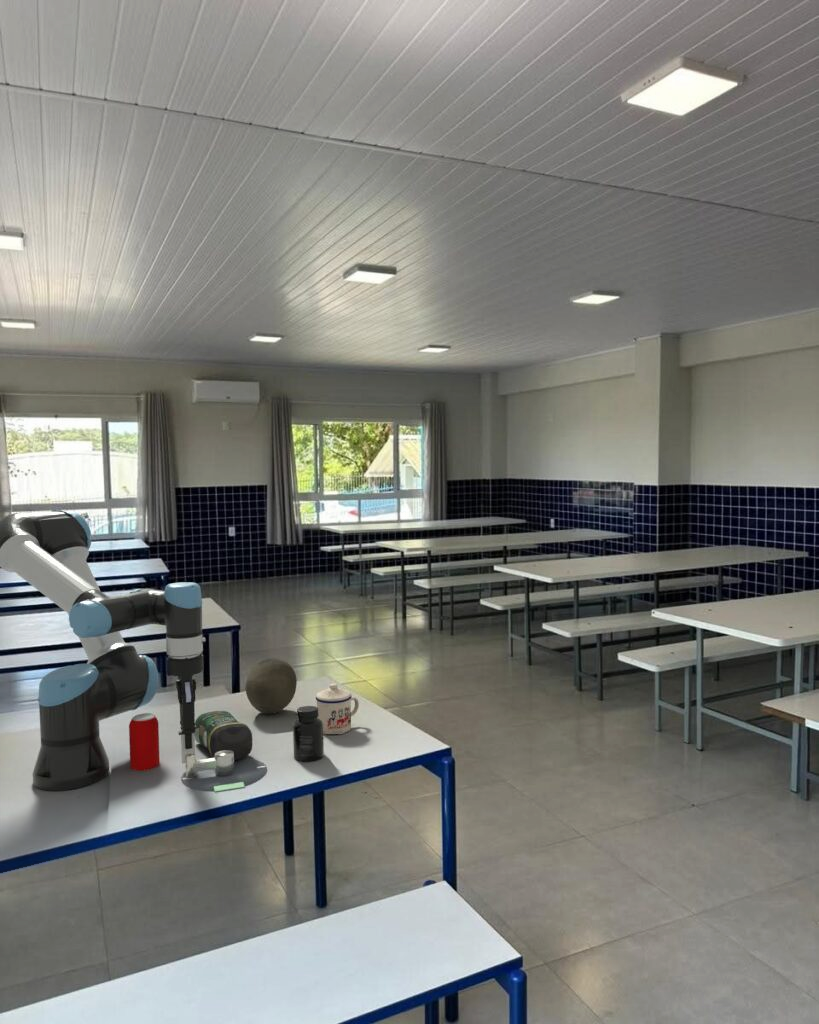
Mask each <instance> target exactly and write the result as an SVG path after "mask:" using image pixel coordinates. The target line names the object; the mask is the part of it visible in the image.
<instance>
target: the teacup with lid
mask: <svg viewBox="0 0 819 1024" xmlns="http://www.w3.org/2000/svg"><path fill="white" fill-rule="evenodd" d="M315 700H316V707H318V714H319V716H318V718H319V719H320V720H321V721H322V723H323V735H326V734H338V735H342V734H341V733H343V734H346V733H348V732H349V731H350V730H351V729H352V717H353V716H355V714H356V713H358V710H359V707H360V702H359V699H358V698H356V697H355V696H352V693H351V692H350V691H349V690H346V689H342V688H341V687H338V684H337V683H330V684H329V687H327V688H326V689H323V690H321V691H318V692H317V694H316V696H315ZM352 701H354V707H353V709H352ZM347 731H348V732H347ZM345 732H346V733H345Z"/></svg>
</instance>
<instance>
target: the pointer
mask: <svg viewBox="0 0 819 1024" xmlns="http://www.w3.org/2000/svg"><path fill="white" fill-rule="evenodd" d="M185 759H186V763H185V771H186V777H187V778H193V777H195V776H196V772H199V771H205V770H212V769H215V774H216V775H219V776H225V775H230V774H232V773H233V772H234V752H233V751H230V750H223V751H219V752H217V753H215V758H213V757H210V758H203V759H197V760H196V753H195V754H187V755H186V756H185Z"/></svg>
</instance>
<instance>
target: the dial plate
mask: <svg viewBox="0 0 819 1024" xmlns="http://www.w3.org/2000/svg"><path fill="white" fill-rule="evenodd" d="M267 773H268V767H267V765H266V764H265V763H264V762H262V761H260V760H259V759H255V758H251V757H250V758H249V757H245V758H242V759H238V760H234V772H233V773H232V774H230V775H225V776H219V775H216V774H215V769H212V770H205V771H199V772H196V776H195V777H193V778H187V777H186V770H185V771H184V772H183V773H182V775H181V778H180V781H181V783H182V784H183V786H185V787H186V788H188V789H191V790H195V791H200V792H215V793H217V792H227V791H233V790H238V789H243V788H245V787H248V786H250V785H252V784H253V785H254V784H255V783H257V782H258V781H260V780H262V779H263V778H264V777H265V776H266V775H267Z"/></svg>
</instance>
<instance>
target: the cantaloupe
mask: <svg viewBox="0 0 819 1024" xmlns="http://www.w3.org/2000/svg"><path fill="white" fill-rule="evenodd" d="M297 680H298V679H297V675H296V672H295V670H294V668H293V667H292V665H291V664H290V663H288V661H286V660H284V659H280V658H273V657H271V658H265V659H262V660H260V661H257V662H256V663H255V664H254V665H253V666H252V668H250V670H249V672H248V674H247V678H246V683H245V693H246V694H245V695H246V697H247V699H248V701H249V703H250V705H251V706H252V707H253V708H254V709H255V710H256V711H257V712H259V713H262V714H266V715H271V714H272V715H274V714H276V713H278V712H280V711H282V710H283V709H285V708H286V707H288V706H289V705H290V703H291V702H292V700H293V699H294V697H295V694H296V692H297V691H296V690H297V684H298V683H297Z"/></svg>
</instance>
